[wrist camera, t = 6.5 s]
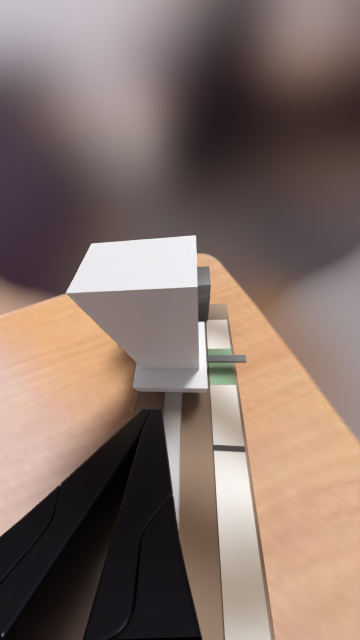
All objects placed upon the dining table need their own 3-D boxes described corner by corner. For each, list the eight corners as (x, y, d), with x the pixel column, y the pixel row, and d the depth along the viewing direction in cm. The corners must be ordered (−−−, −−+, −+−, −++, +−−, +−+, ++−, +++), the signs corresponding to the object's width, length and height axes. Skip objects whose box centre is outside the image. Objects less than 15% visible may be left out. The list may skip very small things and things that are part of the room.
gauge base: (270, 655, 8) (422, 1153, 3) (111, 628, 9) (-34, 956, 3) (224, 312, 19) (234, 264, 13) (154, 314, 19) (136, 270, 14)
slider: (251, 393, 12) (365, 321, 4) (140, 391, 13) (30, 329, 5) (240, 331, 15) (291, 208, 6) (148, 333, 15) (89, 226, 7)
